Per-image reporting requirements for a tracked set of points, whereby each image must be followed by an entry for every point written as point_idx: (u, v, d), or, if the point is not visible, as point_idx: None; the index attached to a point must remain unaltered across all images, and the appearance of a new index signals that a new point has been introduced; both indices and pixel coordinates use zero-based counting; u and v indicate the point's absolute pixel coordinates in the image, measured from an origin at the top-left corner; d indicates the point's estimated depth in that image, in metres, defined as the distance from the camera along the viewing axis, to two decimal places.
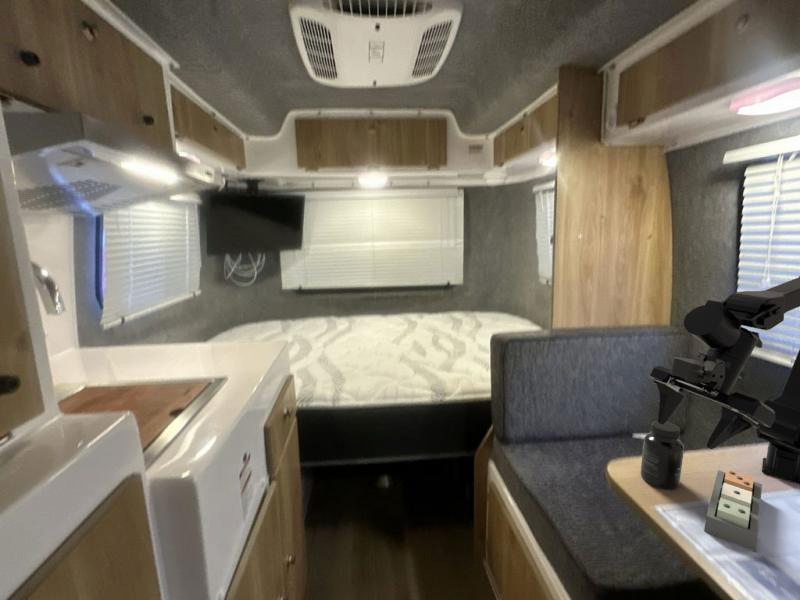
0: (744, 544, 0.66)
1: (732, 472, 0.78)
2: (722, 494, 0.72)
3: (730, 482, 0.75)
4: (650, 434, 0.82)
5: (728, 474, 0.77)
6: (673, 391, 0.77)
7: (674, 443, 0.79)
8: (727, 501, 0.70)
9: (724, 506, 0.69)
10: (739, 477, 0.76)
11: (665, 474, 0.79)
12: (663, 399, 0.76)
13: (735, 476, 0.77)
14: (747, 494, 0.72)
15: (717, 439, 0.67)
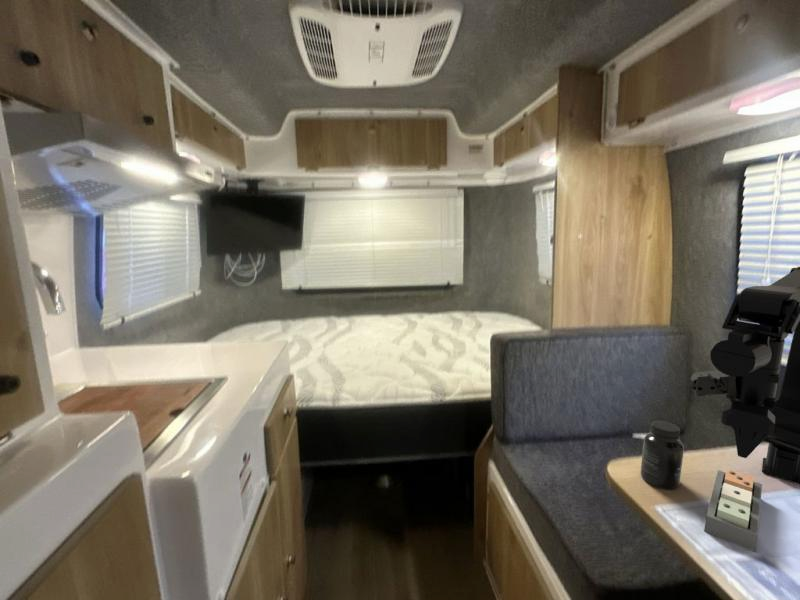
0: (744, 544, 0.66)
1: (732, 472, 0.78)
2: (722, 494, 0.72)
3: (730, 482, 0.75)
4: (650, 434, 0.82)
5: (728, 474, 0.77)
6: None
7: (674, 443, 0.79)
8: (727, 501, 0.70)
9: (724, 506, 0.69)
10: (739, 477, 0.76)
11: (665, 474, 0.79)
12: None
13: (735, 476, 0.77)
14: (747, 494, 0.72)
15: (740, 447, 0.67)
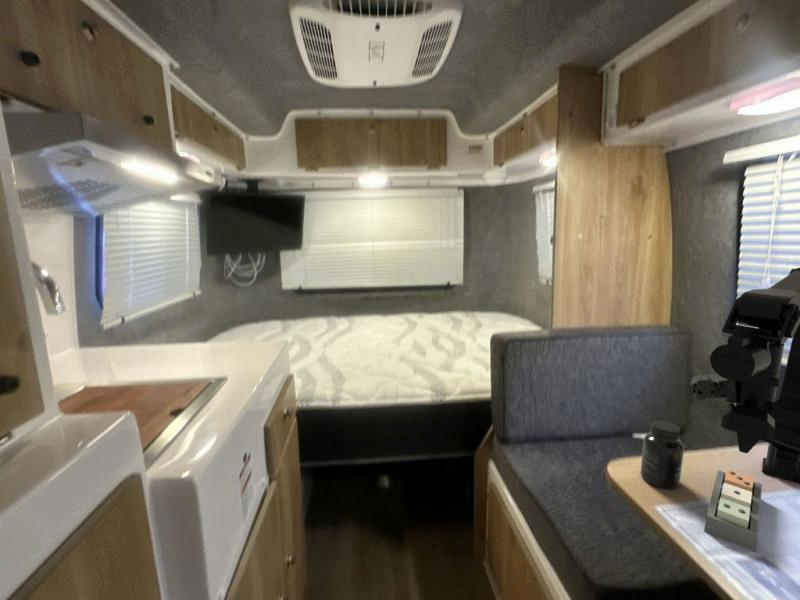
0: (744, 544, 0.66)
1: (732, 472, 0.78)
2: (722, 494, 0.72)
3: (730, 482, 0.75)
4: (650, 434, 0.82)
5: (728, 474, 0.77)
6: None
7: (674, 443, 0.79)
8: (727, 501, 0.70)
9: (724, 506, 0.69)
10: (739, 477, 0.76)
11: (665, 474, 0.79)
12: None
13: (735, 476, 0.77)
14: (747, 494, 0.72)
15: (741, 443, 0.70)
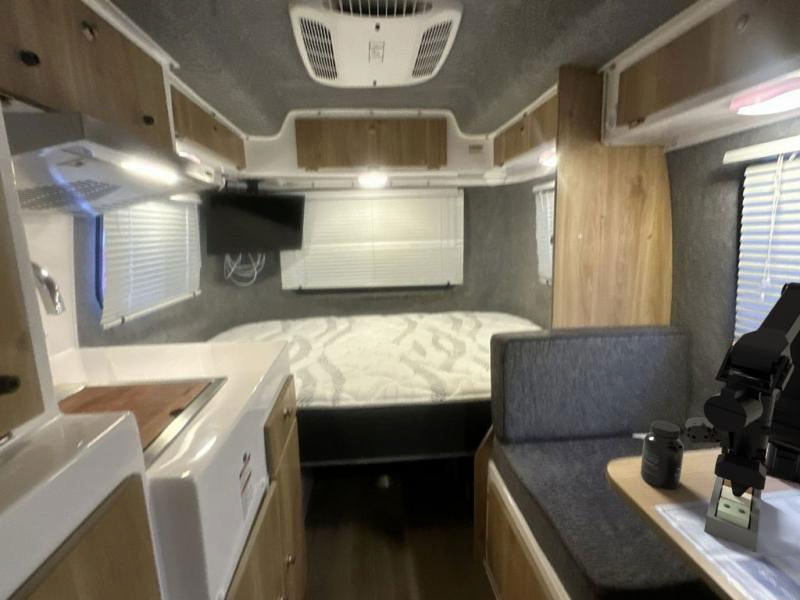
0: (744, 544, 0.66)
1: None
2: (722, 497, 0.72)
3: (730, 482, 0.75)
4: (650, 434, 0.82)
5: None
6: None
7: (674, 443, 0.79)
8: (727, 501, 0.70)
9: (724, 506, 0.69)
10: None
11: (665, 474, 0.79)
12: None
13: None
14: (747, 497, 0.72)
15: (734, 487, 0.71)
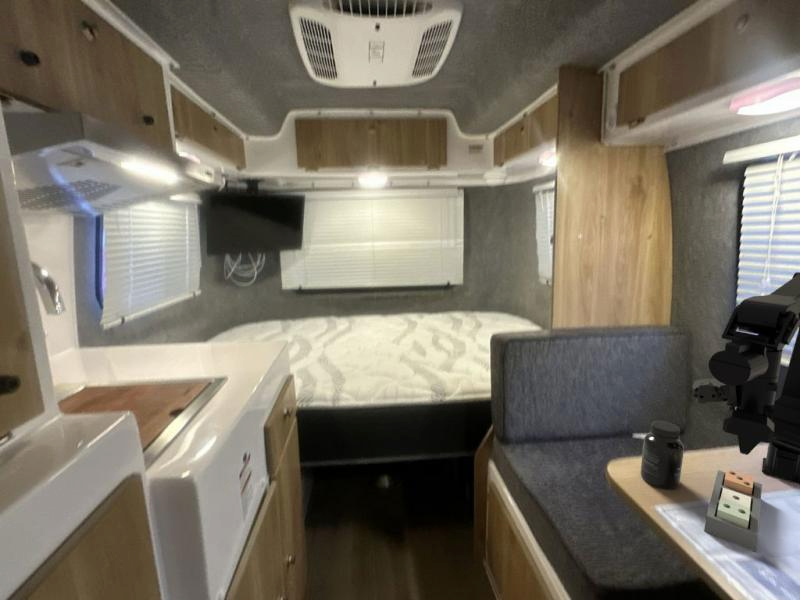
0: (744, 544, 0.66)
1: (732, 472, 0.78)
2: None
3: (730, 482, 0.75)
4: (650, 434, 0.82)
5: (728, 474, 0.77)
6: None
7: (674, 443, 0.79)
8: (727, 501, 0.70)
9: (724, 506, 0.69)
10: (739, 477, 0.76)
11: (665, 474, 0.79)
12: None
13: (735, 476, 0.77)
14: (746, 499, 0.72)
15: (742, 445, 0.72)
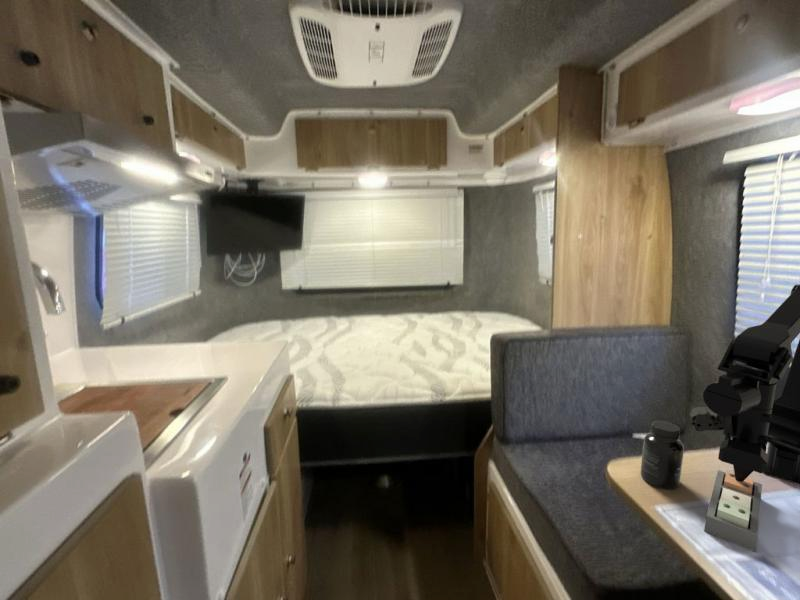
0: (744, 544, 0.66)
1: (732, 474, 0.78)
2: None
3: (729, 484, 0.76)
4: (650, 434, 0.82)
5: (728, 476, 0.77)
6: None
7: (674, 444, 0.79)
8: (727, 501, 0.70)
9: (724, 506, 0.69)
10: None
11: (665, 474, 0.79)
12: None
13: None
14: (746, 499, 0.72)
15: (737, 472, 0.75)
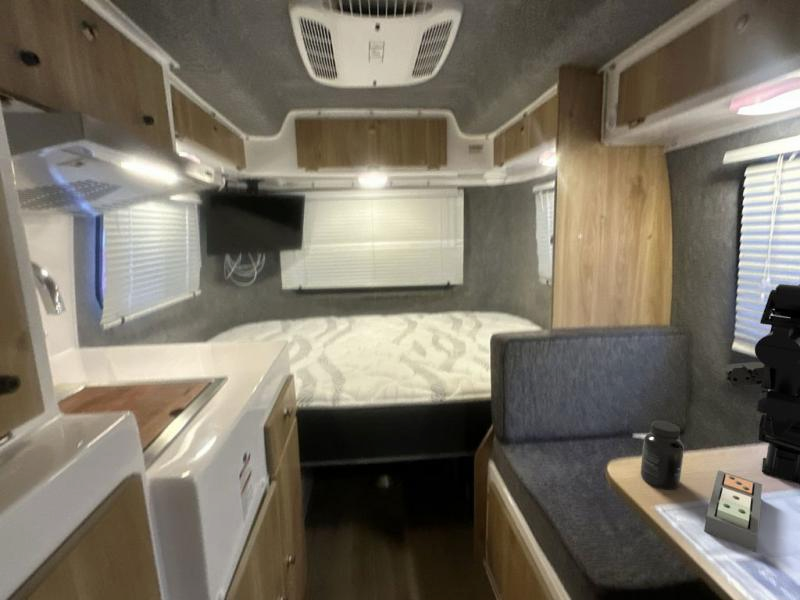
0: (744, 544, 0.66)
1: (731, 477, 0.78)
2: None
3: (729, 487, 0.76)
4: (650, 434, 0.82)
5: (727, 479, 0.77)
6: None
7: (674, 443, 0.79)
8: (727, 501, 0.70)
9: (724, 506, 0.69)
10: (738, 482, 0.77)
11: (665, 474, 0.79)
12: None
13: (734, 481, 0.77)
14: (746, 499, 0.72)
15: (775, 427, 0.74)
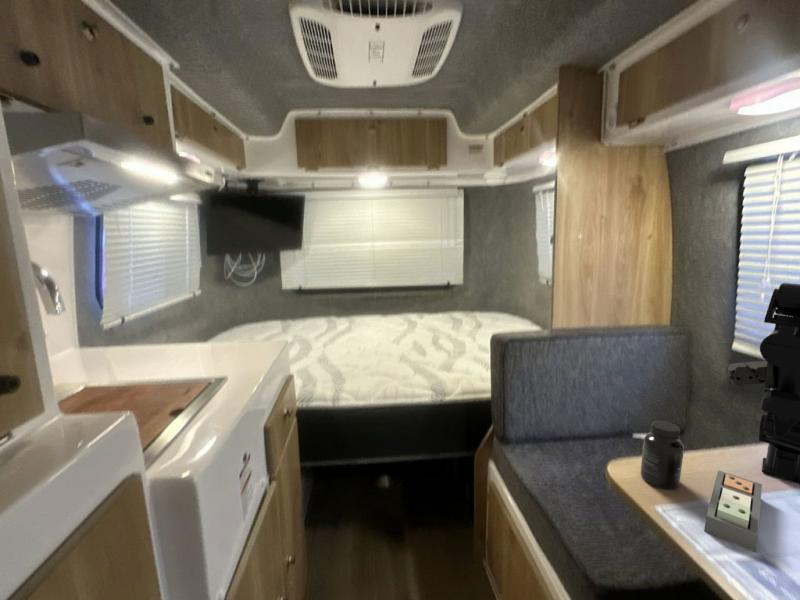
0: (744, 544, 0.66)
1: (731, 477, 0.78)
2: None
3: (729, 487, 0.76)
4: (650, 434, 0.82)
5: (727, 479, 0.77)
6: None
7: (674, 443, 0.79)
8: (727, 501, 0.70)
9: (724, 506, 0.69)
10: (738, 482, 0.77)
11: (665, 474, 0.79)
12: None
13: (734, 481, 0.77)
14: (746, 499, 0.72)
15: (777, 426, 0.74)
